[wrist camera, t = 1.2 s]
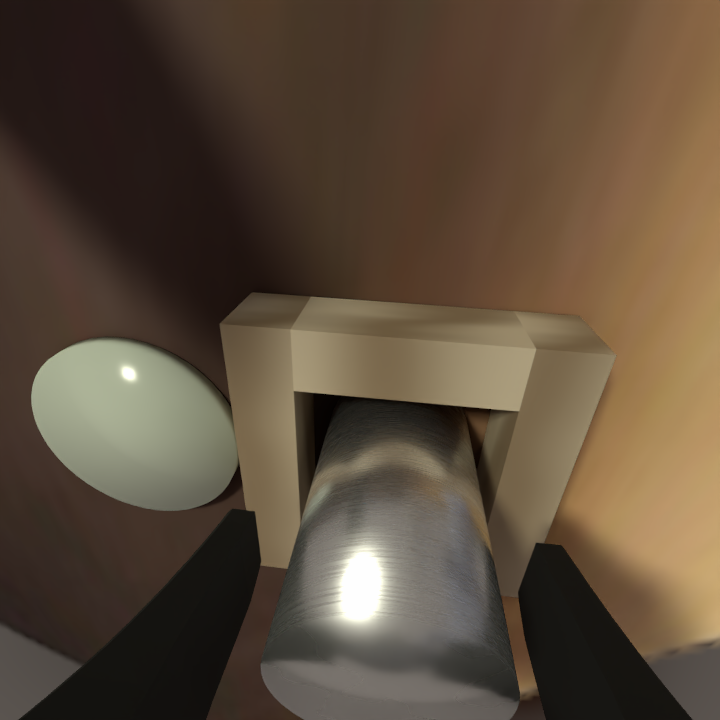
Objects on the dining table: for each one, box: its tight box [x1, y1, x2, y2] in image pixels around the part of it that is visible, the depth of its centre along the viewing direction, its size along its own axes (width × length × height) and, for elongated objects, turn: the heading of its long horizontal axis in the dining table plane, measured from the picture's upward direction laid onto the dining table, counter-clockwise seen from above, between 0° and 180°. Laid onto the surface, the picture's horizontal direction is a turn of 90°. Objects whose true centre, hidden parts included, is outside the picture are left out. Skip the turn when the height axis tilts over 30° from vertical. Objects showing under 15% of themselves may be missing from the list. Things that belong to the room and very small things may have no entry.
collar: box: [220, 292, 617, 598], centre depth 14 cm, size 10×10×2 cm
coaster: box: [31, 337, 239, 511], centre depth 16 cm, size 8×8×1 cm
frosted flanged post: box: [261, 395, 520, 720], centre depth 11 cm, size 5×5×8 cm
